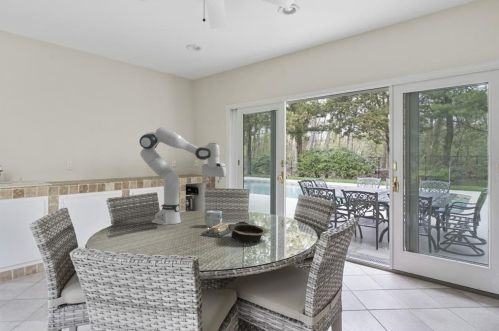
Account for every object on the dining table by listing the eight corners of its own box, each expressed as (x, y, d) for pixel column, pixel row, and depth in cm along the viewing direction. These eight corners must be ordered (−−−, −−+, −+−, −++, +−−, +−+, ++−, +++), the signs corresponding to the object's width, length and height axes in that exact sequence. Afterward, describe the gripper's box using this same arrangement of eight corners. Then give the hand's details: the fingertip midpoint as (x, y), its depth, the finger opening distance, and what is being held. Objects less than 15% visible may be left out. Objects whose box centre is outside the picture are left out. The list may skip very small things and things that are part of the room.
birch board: (210, 231, 189) (211, 227, 189) (220, 227, 201) (221, 223, 201) (217, 232, 187) (217, 228, 187) (227, 228, 199) (227, 224, 199)
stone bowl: (222, 236, 185) (223, 221, 185) (257, 235, 194) (258, 221, 195) (234, 246, 162) (235, 229, 162) (274, 245, 171) (275, 229, 172)
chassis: (201, 235, 187) (201, 228, 187) (218, 228, 206) (218, 221, 206) (220, 237, 182) (220, 230, 181) (235, 230, 201) (235, 223, 201)
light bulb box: (222, 225, 216) (222, 210, 216) (220, 227, 209) (220, 212, 209) (208, 224, 217) (208, 210, 217) (205, 226, 210) (206, 211, 210)
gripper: (199, 164, 222) (199, 182, 222) (223, 164, 213) (223, 183, 214) (204, 164, 227) (204, 181, 228) (227, 164, 219) (227, 182, 219)
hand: (213, 182), depth 221 cm, fingers open, 8 cm apart
